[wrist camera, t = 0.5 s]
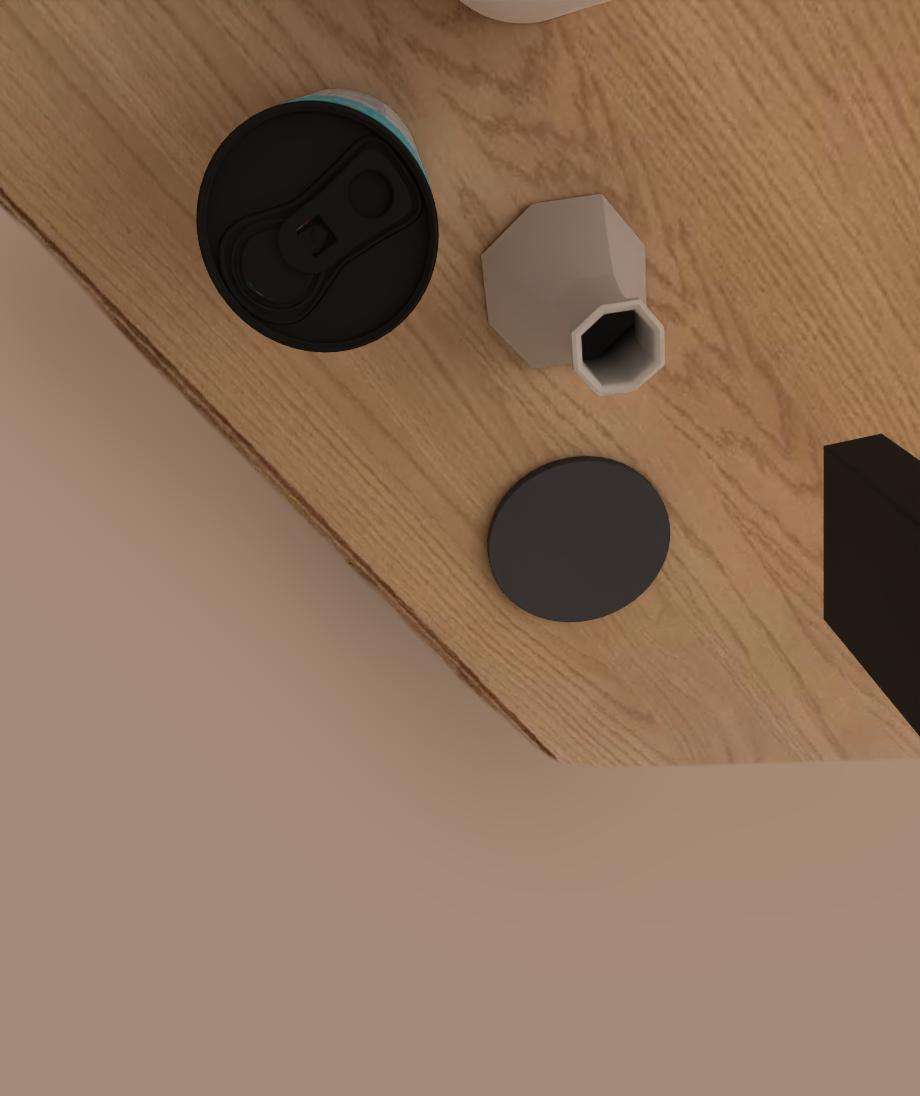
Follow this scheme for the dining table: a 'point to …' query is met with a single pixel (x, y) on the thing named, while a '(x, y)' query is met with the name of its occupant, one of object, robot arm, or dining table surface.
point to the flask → (575, 294)
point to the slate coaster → (578, 539)
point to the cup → (528, 9)
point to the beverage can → (319, 221)
